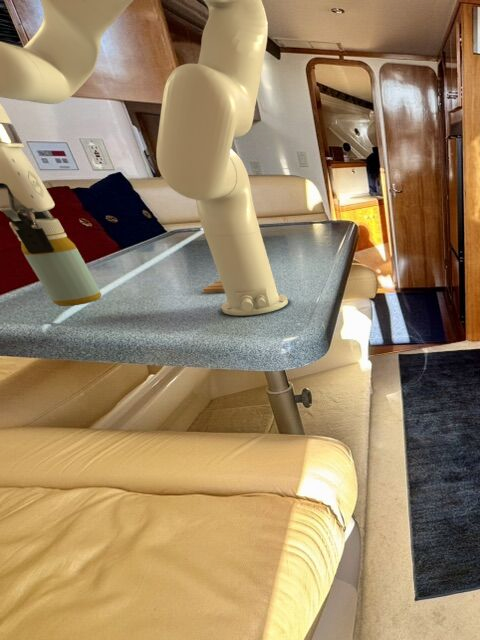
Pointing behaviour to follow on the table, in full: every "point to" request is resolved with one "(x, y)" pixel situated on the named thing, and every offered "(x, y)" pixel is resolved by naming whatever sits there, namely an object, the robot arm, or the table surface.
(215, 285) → the trivet
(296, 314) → the table surface
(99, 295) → the bottle
